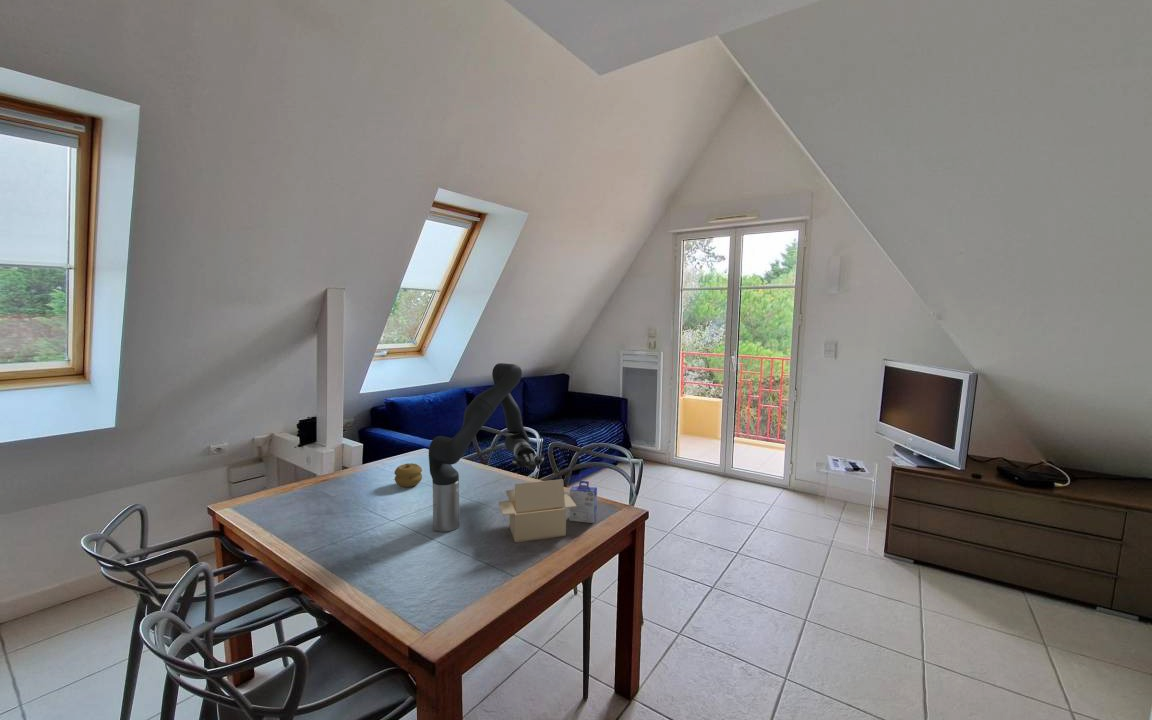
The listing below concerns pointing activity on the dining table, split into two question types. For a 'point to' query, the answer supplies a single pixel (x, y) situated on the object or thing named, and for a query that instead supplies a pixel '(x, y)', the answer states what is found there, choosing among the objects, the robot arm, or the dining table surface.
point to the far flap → (539, 495)
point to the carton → (535, 520)
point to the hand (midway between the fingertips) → (532, 467)
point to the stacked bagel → (408, 475)
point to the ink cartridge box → (583, 503)
